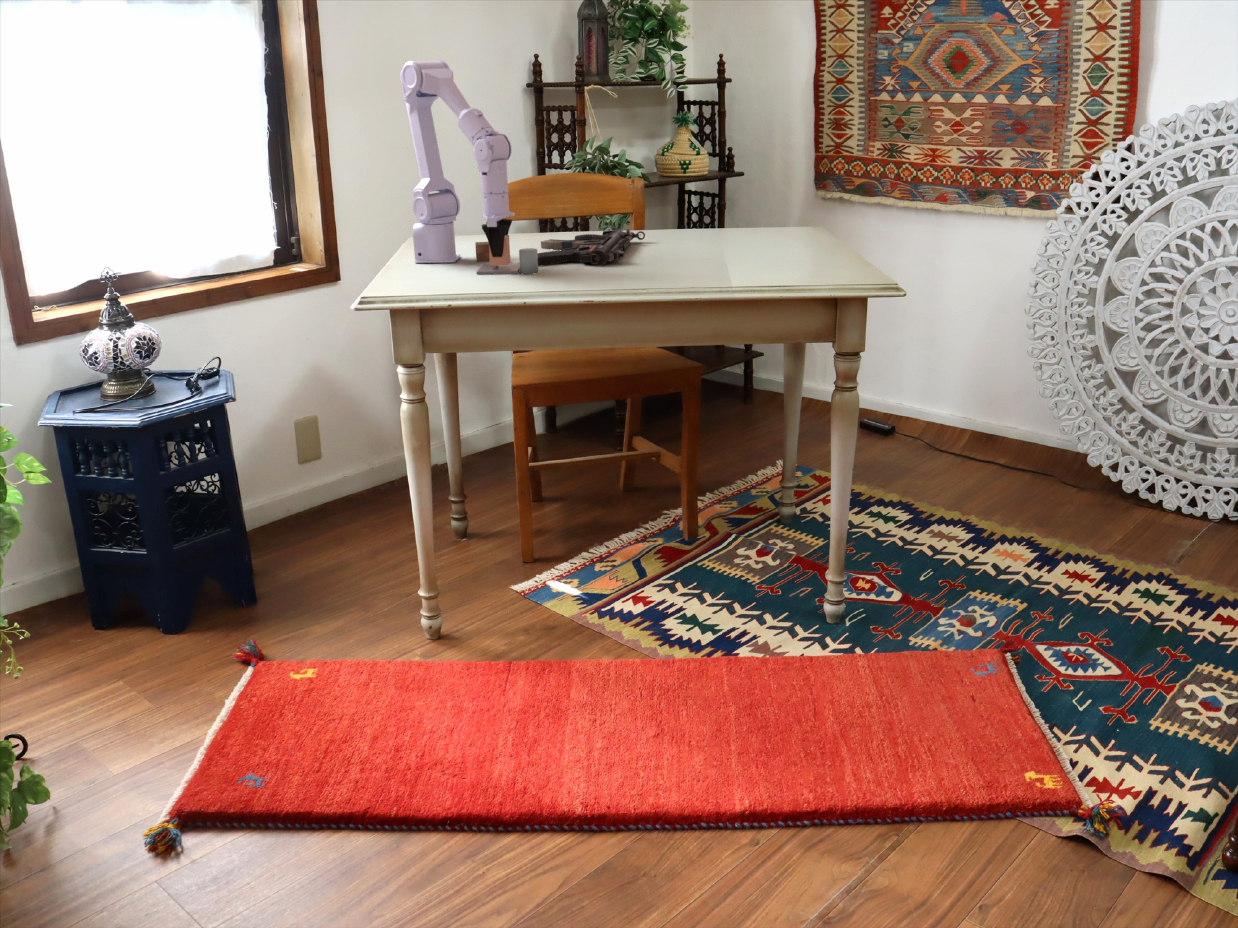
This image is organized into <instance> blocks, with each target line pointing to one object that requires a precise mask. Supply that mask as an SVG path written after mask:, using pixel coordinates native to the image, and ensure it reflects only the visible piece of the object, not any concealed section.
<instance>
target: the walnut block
mask: <svg viewBox="0 0 1238 928" xmlns="http://www.w3.org/2000/svg"><path fill="white" fill-rule="evenodd" d="M474 243H475V244H474V245H475V255H476V256H475V258H476V263H477V262H479V263H480V262H483V263H484V262H490V258H489V242H488V241H476V242H474Z"/></svg>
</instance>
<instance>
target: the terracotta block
mask: <svg viewBox="0 0 1238 928" xmlns="http://www.w3.org/2000/svg"><path fill="white" fill-rule="evenodd" d="M510 250H511V248H510V235H509V234H508V235H505V238H504V248H503V255H502V257H493V256H492V253H491V250H490V246H489V258H490V261H489V264H490V265H508V264H511V251H510Z"/></svg>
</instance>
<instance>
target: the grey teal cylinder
mask: <svg viewBox="0 0 1238 928" xmlns="http://www.w3.org/2000/svg"><path fill="white" fill-rule="evenodd" d="M537 253H538V249H537V248H533V247H532V248H531V247H530V248H526V247H525V248H520V249H519V250H518V255H519V256H518V257H519V263H520V270H519V273H520V274H521V273H523V274H522V275H534V274H533V273H536V274H539V266H538V254H537Z"/></svg>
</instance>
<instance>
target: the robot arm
mask: <svg viewBox="0 0 1238 928" xmlns="http://www.w3.org/2000/svg"><path fill="white" fill-rule="evenodd" d="M399 78H400V79H399V80H400V83H401V88H402V89H401V90H402V94H403V98H404V102H405V105H406V106H405V107H406V113H407V116H408V122H409V128H410V133H411V137H412V143H413V148H414V152H415V157H416V164H417V167H418V174H419V179H420V182H418V184H417V185H416V186H415V187H414V189H413V190H412V195H413V197H412V198H413V202H412V203H413V204H412V205H413V206H412V210H413V213H414V216H415V218H416V219H417V220H418V221H419V222H415V223H414V224H413V226H412V241H413V250H414V263H415V264H423V263H425V264H426V263H430V264H431V263H434V264H435V263H436V264H437V263H456V261H457V260H459V258H460V257H461V254H460V253H459V254H458V253H457V252H456V251H457V250H456V238H455V237H456V236H455V225H454V224H455V223H454V222H456V221H457V216H459V214H460V210H461V205H460V204H461V203H460V199H459V198H458V196H457V193H456V191H455V186H454V184H453V183H452V182H451V181H449V180H448V179H446V178H445V177H444V172H443V171H444V170H443V166H442V160H441V157H440V155H441V154H440V149H439V144H438V138H437V133H436V128H435V123H434V117H433V114H432V106H433V104H434V102H435V101H437V100H438V99H439V98H440V99H441V100H442V101H443V103H445V105H447V107H448V108H449V109H450V110H451V111H452V112H453V114H454V115H455V116H456V117H457V118H458V120H457V125H458V128H459V129H460V130H461V132H462V133H463V134H464V136H465V137H466V139H467V140H468V142H470V144H471V145H472V146H473V149H472V152H473V156H474V158H475V160H476V163H477V169H478V171H479V172H480V181H481V182H480V183H481V197H482V198H481V199H482V210H483V211H482V218H483V219H484V220H486V222H485V223H484V224H481V230H482V231H483V233H484V235H485V236H486V239H487V242H489V246H490V250H491V253H492V256H493V257H502V255H503V248H504V238H505V235H509V231H510V228H511V225H512V223H513V220H512V219H510V217H515V215H516V213H515V212H514V211H513V212H512V211H510V203H509V202H510V201H509V199H510V198H509V183H508V166H507V164H508V163H507V161H508V160H509V159H510V158H511V156H512V151H513V150H512V144H511V142H510V140H509V139H510V138H509V137H508V136H507V135H506V134H505V133H500V132H499V131H496V129H494V127H492V125H491V123H490V122H489V121H488V120H487V119H486V117H485V116H484V113H483V112H482V111H481V110H480V109H478V108H472V107H471V106H470V104H469V103H468V101H467V100H466V98H465V97H464V95H463V93H462V92H461V90H460V89H459V87H458V85H457V84H456V82H455V81H454V71H453V70H452V69H451V68H450V66H449V65H448V63H447V62H446V61H445V60H443V59H441V60H439V59H438V60H431V61H430V60H427V61H426V60H425V61H413V60H410V61H407V62H406V63H405V64H404V65H403V66H402V69H401V71H400V74H399ZM431 192H434V193H431ZM507 218H508V219H507Z"/></svg>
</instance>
